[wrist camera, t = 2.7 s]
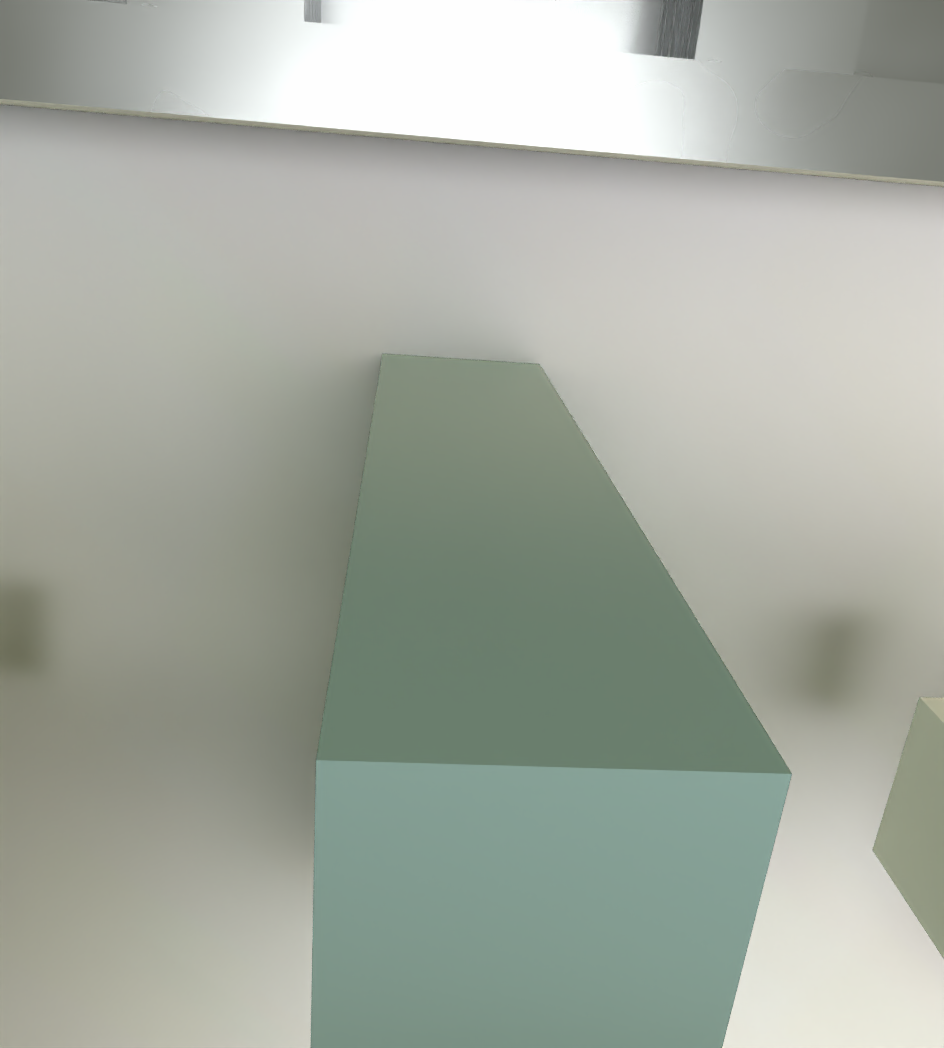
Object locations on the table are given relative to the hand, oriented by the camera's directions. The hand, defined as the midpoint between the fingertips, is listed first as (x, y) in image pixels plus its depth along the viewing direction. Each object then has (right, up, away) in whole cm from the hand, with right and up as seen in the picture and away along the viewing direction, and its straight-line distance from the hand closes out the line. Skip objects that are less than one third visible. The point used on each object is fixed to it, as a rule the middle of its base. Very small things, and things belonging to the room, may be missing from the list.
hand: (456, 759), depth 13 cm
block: (0, +1, +3) cm, 3 cm away
